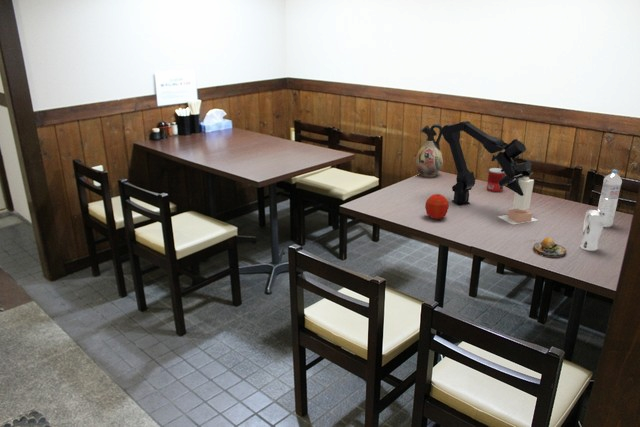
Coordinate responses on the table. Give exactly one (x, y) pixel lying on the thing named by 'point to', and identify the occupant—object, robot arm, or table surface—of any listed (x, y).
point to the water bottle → (610, 197)
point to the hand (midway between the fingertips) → (526, 194)
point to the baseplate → (513, 220)
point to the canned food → (495, 179)
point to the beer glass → (592, 229)
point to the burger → (549, 249)
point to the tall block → (524, 200)
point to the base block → (519, 215)
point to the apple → (437, 206)
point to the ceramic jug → (430, 153)
